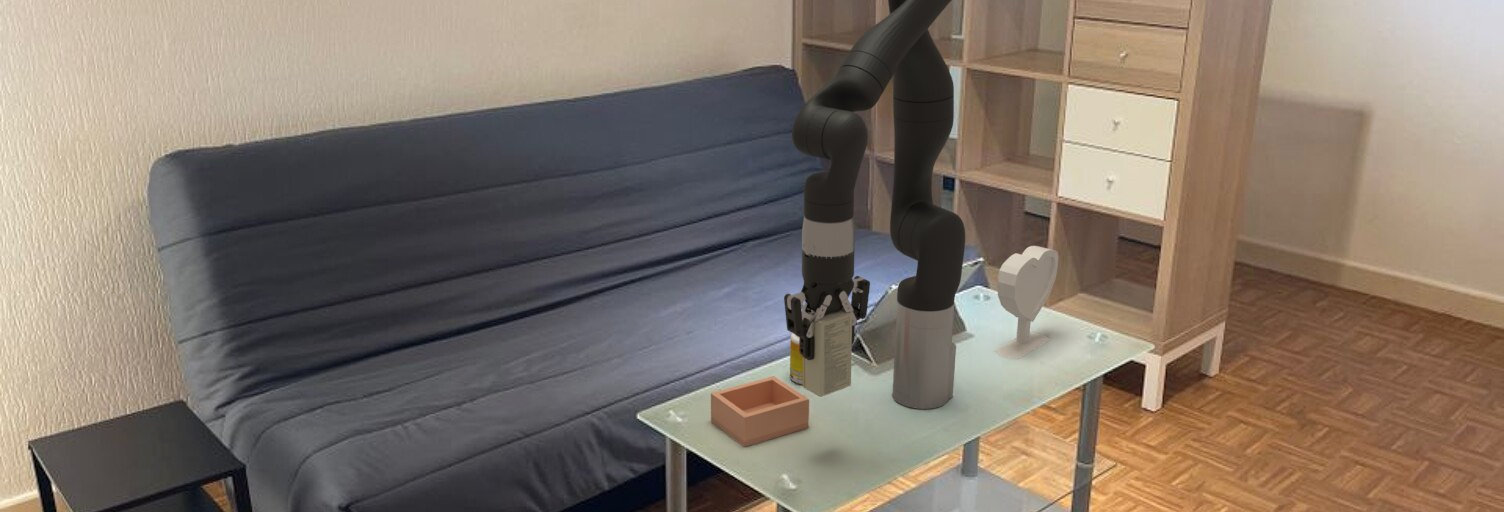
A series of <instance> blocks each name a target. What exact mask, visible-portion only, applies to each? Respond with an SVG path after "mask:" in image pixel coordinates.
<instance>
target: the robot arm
mask: <svg viewBox="0 0 1504 512" xmlns="http://www.w3.org/2000/svg"><path fill="white" fill-rule="evenodd" d="M887 1H888V9H889V14H888V15H887V16H885V17H884V18H883V19H881V20H880V21H879V22H877V23H875V24H874V25H873V26H872V27H870V28H869V29H868V30H866V32H865V33H863V34H862V35H861V36H860V37H859V38H858V39H857V41H856V42H855V43H854V44H853V46H852V47H851V49H850V50H849V52H848V54H847V55H846V57H845V58H844V60H843V61H842V62H841V63H842V64H840V67H839V69H838V70H837V72H836V74H835V75H834V77H832V78H831V79H830V80H829V81H828V82H827V83H826V84H824V85H823V86H822V87H821V88H820V89H819V90H818V91H817V92H816V93H815V94H813V96H812V97H811V98H810V99H809V100H808V101H806V103H805V104H804V105H803V106H802V107H801V108H800V110H799V111H798V113H797V114H796V116H795V118H794V122H793V125H792V130H791V131H792V132H791V139H792V143H793V145H794V146H795V148H796V150H797V151H799V153H802V154H804V155H806V156H809V157H810V156H811V157H815V158H820V159H825V160H829V161H830V165H829V169H828V171H819V172H815V173H812V174H811V175H809V176H807V178H806V179H805V181H804V186H803V187H804V189H803V221H802V230H801V275H802V280H803V285H802V288H801V291H800V292H798V293H795V294H790V293H785V295H784V297H783V302H784V311H785V322H786V329H787V331H788V332H790V333H791V334H792V333H794V334H795V335H796V336H798V337H799V352H800V354H801V355H802V356H803V357H804V358H806V359H807V360H812V359H814V336H813V334H814V332H815V324H816V323H817V322H819V321H821V320H822V318H823V316H824V315H827V314H829V313H831V312H838V311H840V309H841V310H842V311H844V312H845V313H850V312H852V345H854V343H855V335H856V334H855V331H856V330H855V329H856V328H855V327H856V325H857V322H858V321H859V320H860V319H861V320H864V319H866V317H867V313H868V305H869V299H870V298H869V296H870V289H871V282H870V281H869V280H867V279H866V278H864V277H861V276H859V275H856V276H855V252H856V251H855V245H856V232H855V229H856V228H855V222H854V219H855V218H854V208H855V207H854V206H855V204H854V203H855V196H854V195H855V194H854V193H855V188H856V183H857V179H858V176H859V172H860V168H861V165H862V162H863V158H864V156H865V153H866V150H867V145H868V138H869V136H868V135H869V134H868V133H869V132H868V128H867V124H866V123H865V120H864V119H863V117H862V116H861V115H859V114H858V113H856V112H863V111H868V110H870V109H872V108H873V107H875V105H876V104H877V103H878V102H879V100H880V98H881V96H882V95H883V93H884V91H885V90H886V88H887V86H888V84H889V83H890V81H891V80H892V78H893V81H892V82H893V83H892V84H893V85H892V86H893V87H892V89H893V90H892V108H893V110H892V113H893V114H892V115H893V128H894V133H893V134H894V151H893V152H894V154H893V155H894V159H893V161H894V162H893V163H894V164H893V166H894V167H893V169H894V170H893V187H892V197H891V209H890V221H889V223H890V224H889V227H890V228H889V231H890V240H891V241H892V245H893V246H894V248H895V249H896V250H897V251H898V252H900V253H901V254H902V255H904V256H907V257H908V258H910V259H912V260H915V261H917V265H916V266H917V267H916V273H915V274H916V275H914V276H910V277H906V278H905V279H903V280H901V281H900V282H899V283H898V285H897V292H896V294H897V295H896V311H895V312H896V313H895V314H896V316H895V334H894V335H895V336H894V355H893V356H894V358H893V376H892V377H893V378H892V381H893V382H892V398H893V400H895V402H897V403H898V404H900V405H902V406H904V407H908V408H913V409H920V410H921V409H923V410H926V409H929V410H930V409H934V408H939V407H941V406H943V405H945V404H946V403H947V402H948V400H949V399H952V398H953V397H954V385H955V371H956V370H955V368H956V354H957V346H956V343H954V342H953V331H954V330H953V328H954V313H955V311H954V310H955V297H956V294H957V291H958V289H959V287H960V284H961V280H962V275H963V274H962V273H963V267H964V266H963V264H964V256H965V250H966V249H965V247H966V230H965V224H964V221H963V220H962V218H961V217H960V216H959V215H958V214H957V213H956V212H953V211H951V210H949V209H946V208H943V207H940V206H938V205H936V204H934V202H933V201H934V200H933V190H932V189H933V186H932V184H933V172H934V167H935V164H936V161H937V159H938V157H939V155H941V152H942V151H943V149H944V147H945V145H946V144H947V142H948V140H949V138H950V136H951V133H952V130H953V126H954V118H955V116H954V115H955V112H954V111H955V108H954V107H955V106H954V105H955V96H954V95H955V90H954V89H955V88H954V87H955V86H954V81H953V77H952V74H951V73H950V69H949V68H948V66H947V64H946V62H945V60H944V58H943V56H942V54H941V52H940V51H939V49H938V47H937V45H936V43H935V42H934V39H933V38H932V36H931V33H930V31H929V28H930V26H931V25H933V23H934V22H935V21H936V20H937V18H938V17H939V16H940V14H942V12H943V11H944V10H945V9H946V7H947V6H948V5H949V4H950V3H951V1H952V0H887ZM850 295H851V302H850V300H849V296H850ZM811 311H814V312H816V313H815V315H812V314H811ZM807 319H809V324H808V327H807Z"/></svg>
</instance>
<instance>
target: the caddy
mask: <svg viewBox="0 0 1504 512" xmlns="http://www.w3.org/2000/svg"><path fill="white" fill-rule="evenodd" d="M710 422H711V423H712V424H713V425H715V426H716V427H717V428H719V429H720V430H722V431H723V432H725V433H726V434H727V435H728V436H729V437H731V438H732V439H733V440H734V441H736V442H737V443H739V444H740V445H741V446H743V448H746V447H749V446H753V445H757V444H758V443H763V442H765V441H766V442H767V441H769V440H772V439H776V438H778V437H783V436H786V435H788V434H789V435H790V434H791V433H795V432H799V431H802V430H806V429H809V427H810V426H809V424H810V423H809V422H810V398H809V397H806V396H805V395H804V394H802V393H801V392H799V391H798V390H796V389H794V388H793V387H791V386H790V385H789V384H787V383H785V382H784V381H782V380H781V379H779V378H777V377H776V376H775V375H774V376H769V377H766V378H765V377H764V378H762V379H758V380H755V381H751V382H747V383H743V384H740V385H736V386H733V387H728V388H725V389H722V390H718V391H713V392H710Z"/></svg>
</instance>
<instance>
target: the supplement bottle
mask: <svg viewBox="0 0 1504 512" xmlns="http://www.w3.org/2000/svg"><path fill="white" fill-rule="evenodd" d="M789 345H790V347H789V350H790V351H789V355H790V356H789V378H790V379H791V381H792V382H794V383H796V384H799V385H803V356H802V355H801V354H800V352H799V337H798V336H796V335H795V334H794V333H792V332H791V335H790V343H789Z"/></svg>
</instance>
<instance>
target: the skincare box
mask: <svg viewBox="0 0 1504 512" xmlns="http://www.w3.org/2000/svg"><path fill="white" fill-rule="evenodd" d="M815 313H816V312H814V311H812V310H811V314H812V315H815ZM808 324H809V319H807V327H808ZM813 336H814V359H812V360H807V359H806V358H804V357H803V384H802V388H804V389H805V390H807V391H808V392H810V393H813V394H814V395H815V396H818V397H819V398H822V397H826V396H828V395H830V394H834V393H835V392H838V391H841V390H843V389H845V388H848V387H851V385H852V348H853V344H852V312H850V313H845V312H844V311H842V310H841V309H840V311H838V312H831V313H829V314H827V315H824V316H823V318H822V320H821V321H819V322H817V323H816V324H815V332H814V334H813Z"/></svg>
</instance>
